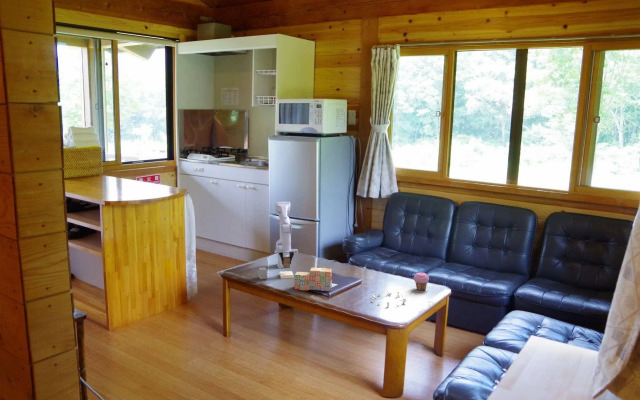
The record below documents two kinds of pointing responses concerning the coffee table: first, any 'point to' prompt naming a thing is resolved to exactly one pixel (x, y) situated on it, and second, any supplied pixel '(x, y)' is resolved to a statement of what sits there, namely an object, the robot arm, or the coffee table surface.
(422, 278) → the cupcake
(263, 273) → the grey rectangular block
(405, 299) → the game piece set
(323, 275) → the stack of blocks
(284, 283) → the coffee table surface
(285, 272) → the cream slab
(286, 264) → the walnut block
